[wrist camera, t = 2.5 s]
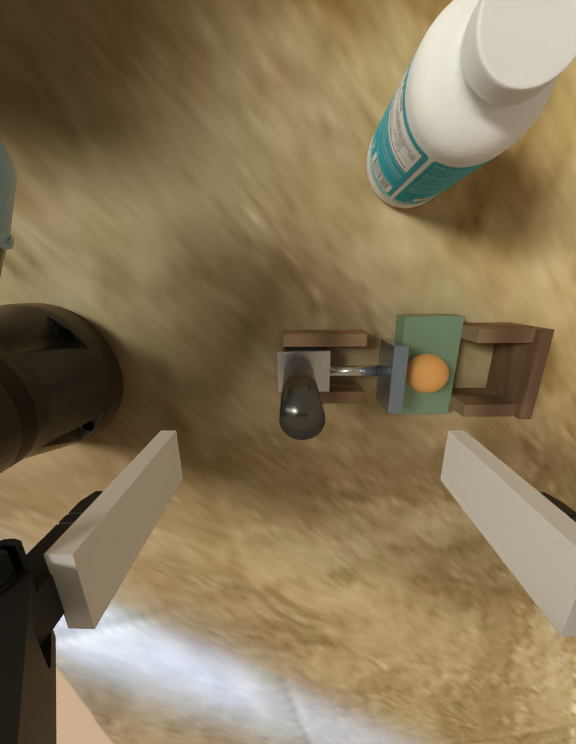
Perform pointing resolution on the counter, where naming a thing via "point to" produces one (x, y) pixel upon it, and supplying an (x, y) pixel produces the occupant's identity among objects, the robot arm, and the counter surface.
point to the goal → (506, 370)
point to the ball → (427, 373)
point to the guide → (330, 339)
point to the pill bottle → (469, 94)
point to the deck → (430, 338)
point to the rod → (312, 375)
